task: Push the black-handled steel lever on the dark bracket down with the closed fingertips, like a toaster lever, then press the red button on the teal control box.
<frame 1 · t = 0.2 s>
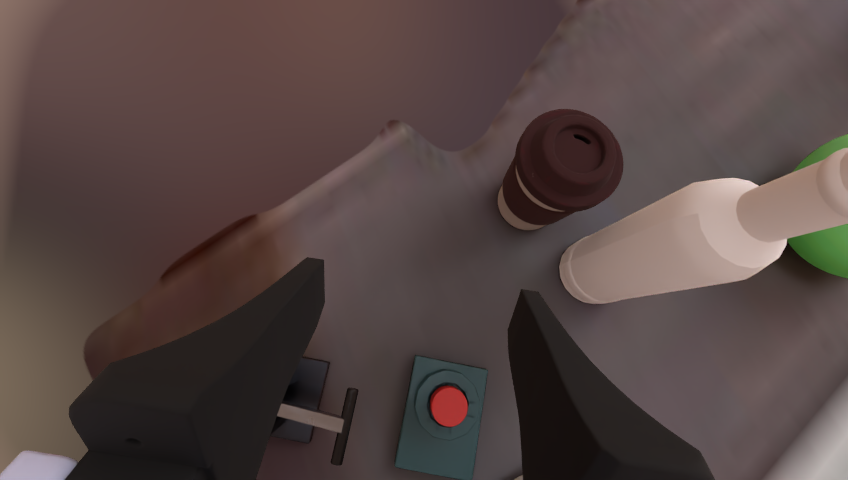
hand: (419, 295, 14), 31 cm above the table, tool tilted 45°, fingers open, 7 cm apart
coffee cup: (524, 204, 49), on the table
bottle: (588, 272, 48), on the table
lever: (293, 411, 35), point 8 cm above the table, hinge at 15.0°
stop button: (448, 405, 39), point 4 cm above the table, slide at 0.1 cm
bracket: (274, 391, 42), on the table
button box: (441, 413, 42), on the table
toy bird: (801, 219, 52), on the table
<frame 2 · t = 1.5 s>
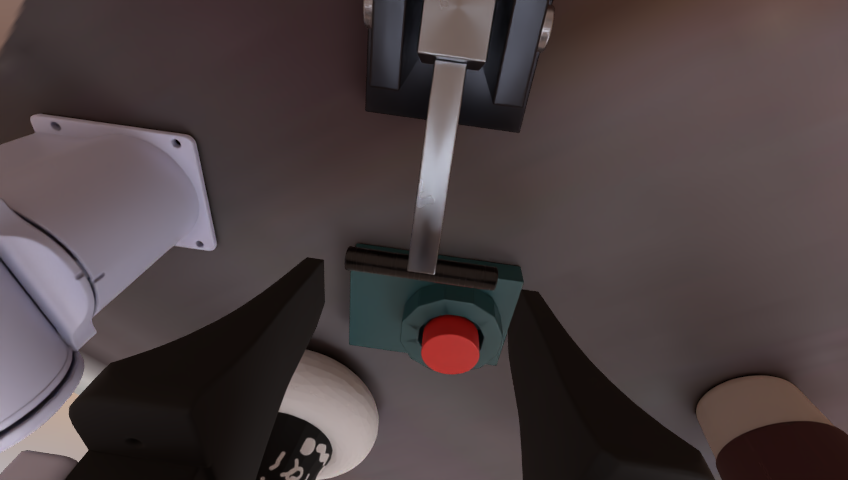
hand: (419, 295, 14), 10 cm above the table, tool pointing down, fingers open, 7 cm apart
coffee cup: (741, 399, 31), on the table
decorative figurine: (303, 390, 35), on the table
lever: (439, 142, 14), point 8 cm above the table, hinge at 15.0°
stop button: (450, 344, 25), point 4 cm above the table, slide at 0.1 cm
bracket: (458, 9, 18), on the table
button box: (430, 299, 28), on the table
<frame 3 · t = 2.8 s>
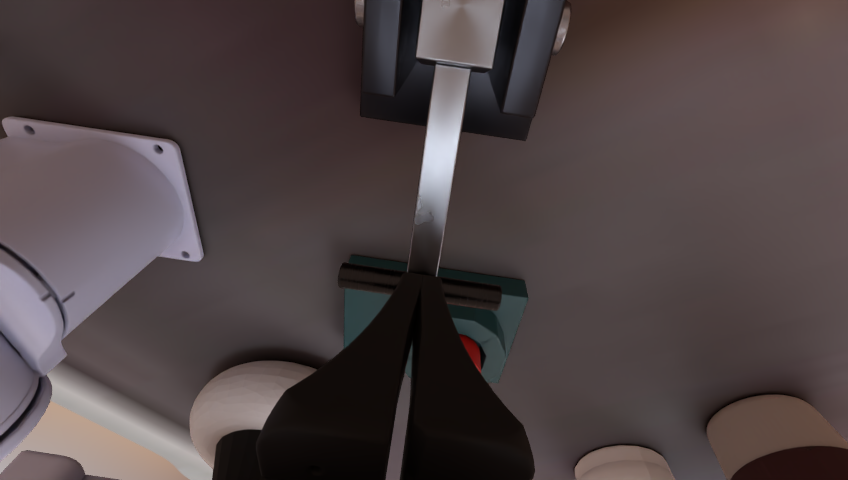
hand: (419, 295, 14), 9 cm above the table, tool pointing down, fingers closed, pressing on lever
coffee cup: (754, 418, 30), on the table
bottle: (618, 466, 35), on the table
decorative figurine: (296, 404, 34), on the table
lever: (440, 153, 13), point 7 cm above the table, hinge at 12.0°, touching gripper
stop button: (450, 363, 23), point 4 cm above the table, slide at 0.1 cm
bracket: (461, 6, 17), on the table
button box: (429, 313, 27), on the table
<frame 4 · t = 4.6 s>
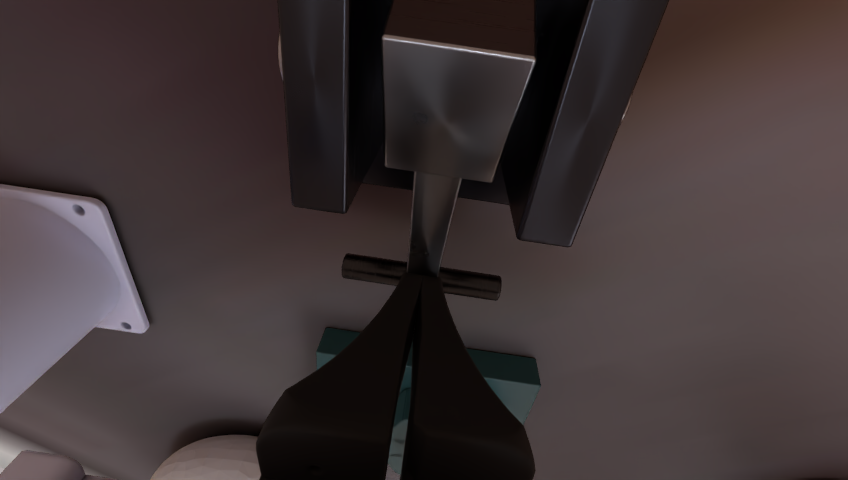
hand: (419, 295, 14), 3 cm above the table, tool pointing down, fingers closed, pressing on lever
decorative figurine: (271, 475, 30), on the table
lever: (433, 203, 11), point 5 cm above the table, hinge at -27.5°, touching gripper
bracket: (457, 39, 13), on the table
button box: (421, 390, 22), on the table
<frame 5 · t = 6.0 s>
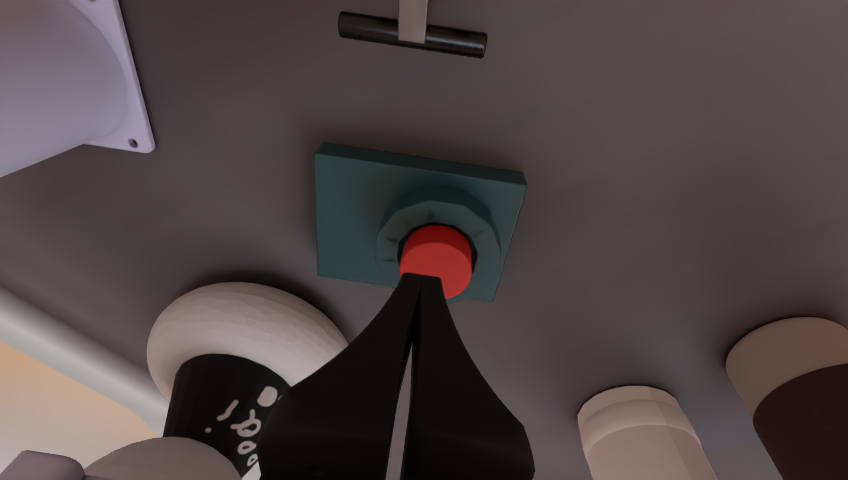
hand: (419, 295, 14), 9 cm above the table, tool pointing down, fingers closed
coffee cup: (779, 350, 27), on the table
bottle: (625, 412, 32), on the table
decorative figurine: (270, 341, 31), on the table
stop button: (436, 262, 20), point 4 cm above the table, slide at 0.1 cm
button box: (415, 220, 23), on the table
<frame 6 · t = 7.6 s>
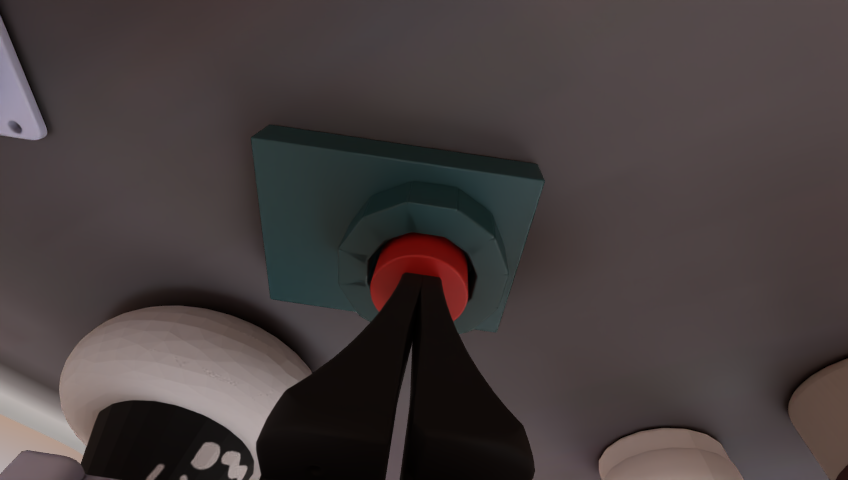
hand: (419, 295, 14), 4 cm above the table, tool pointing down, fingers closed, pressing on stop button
bottle: (657, 457, 26), on the table
decorative figurine: (225, 374, 25), on the table
stop button: (420, 281, 15), point 4 cm above the table, slide at -0.3 cm, touching gripper
button box: (395, 227, 18), on the table
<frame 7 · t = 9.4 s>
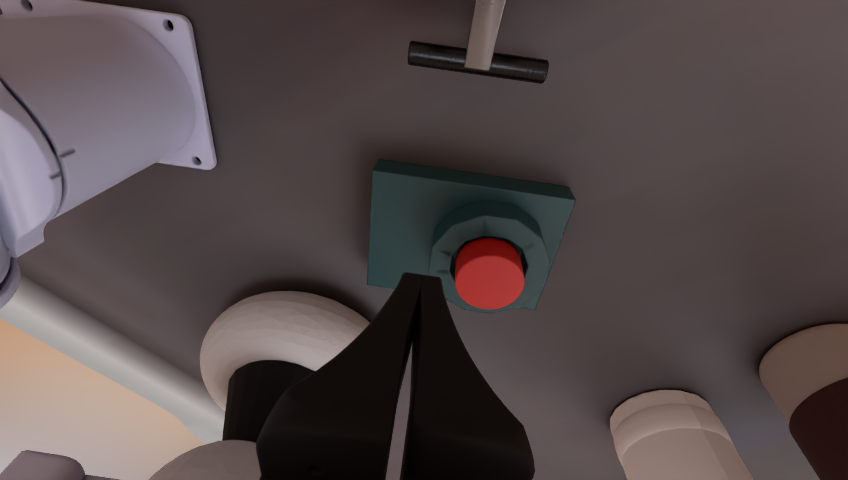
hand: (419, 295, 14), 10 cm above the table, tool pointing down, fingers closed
coffee cup: (812, 355, 28), on the table
bottle: (657, 415, 32), on the table
decorative figurine: (312, 347, 32), on the table
stop button: (488, 273, 21), point 4 cm above the table, slide at 0.1 cm
button box: (461, 231, 24), on the table
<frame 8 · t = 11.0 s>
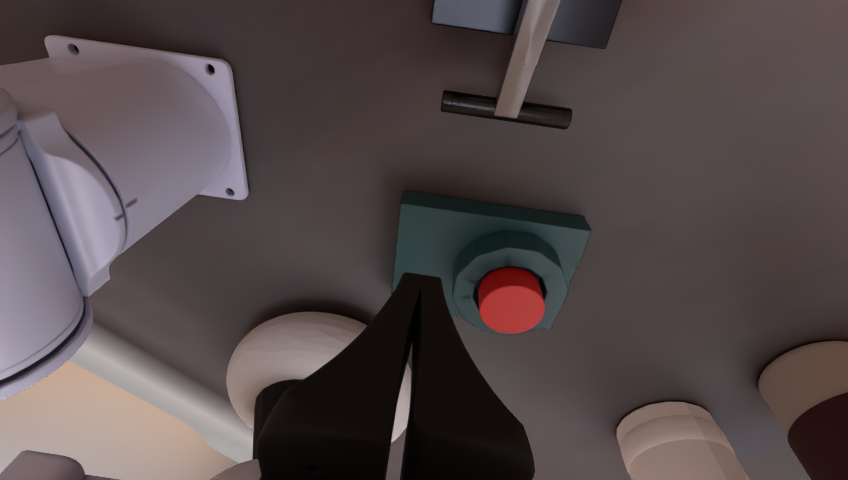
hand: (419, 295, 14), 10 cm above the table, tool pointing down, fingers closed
coffee cup: (808, 369, 29), on the table
bottle: (661, 425, 34), on the table
decorative figurine: (332, 363, 33), on the table
lever: (540, 2, 14), point 5 cm above the table, hinge at -27.5°
stop button: (510, 300, 22), point 4 cm above the table, slide at 0.1 cm
button box: (481, 256, 26), on the table
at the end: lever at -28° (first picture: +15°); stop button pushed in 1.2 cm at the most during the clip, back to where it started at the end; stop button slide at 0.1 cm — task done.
